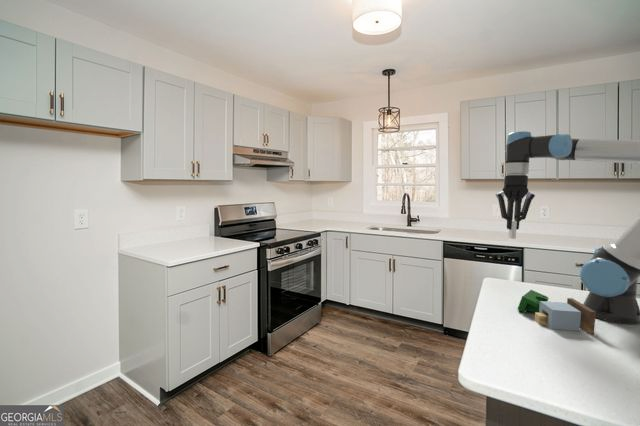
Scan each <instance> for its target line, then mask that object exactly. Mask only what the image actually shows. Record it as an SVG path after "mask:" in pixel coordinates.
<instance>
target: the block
mask: <svg viewBox="0 0 640 426" xmlns="http://www.w3.org/2000/svg"><path fill="white" fill-rule="evenodd" d="M539 313H548V314H549V315H548V325H547V327H548V328H550V329H551V330H562V331H573V332H574V331H575V332H576V331H577V332H580V331H581V329H580V320H581V312H580V311H579V310H577V309H576V308H574V307H572V306H571V305H569V304H568V303H567V302H561V301H560V302H559V301H540V306H539Z"/></svg>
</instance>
